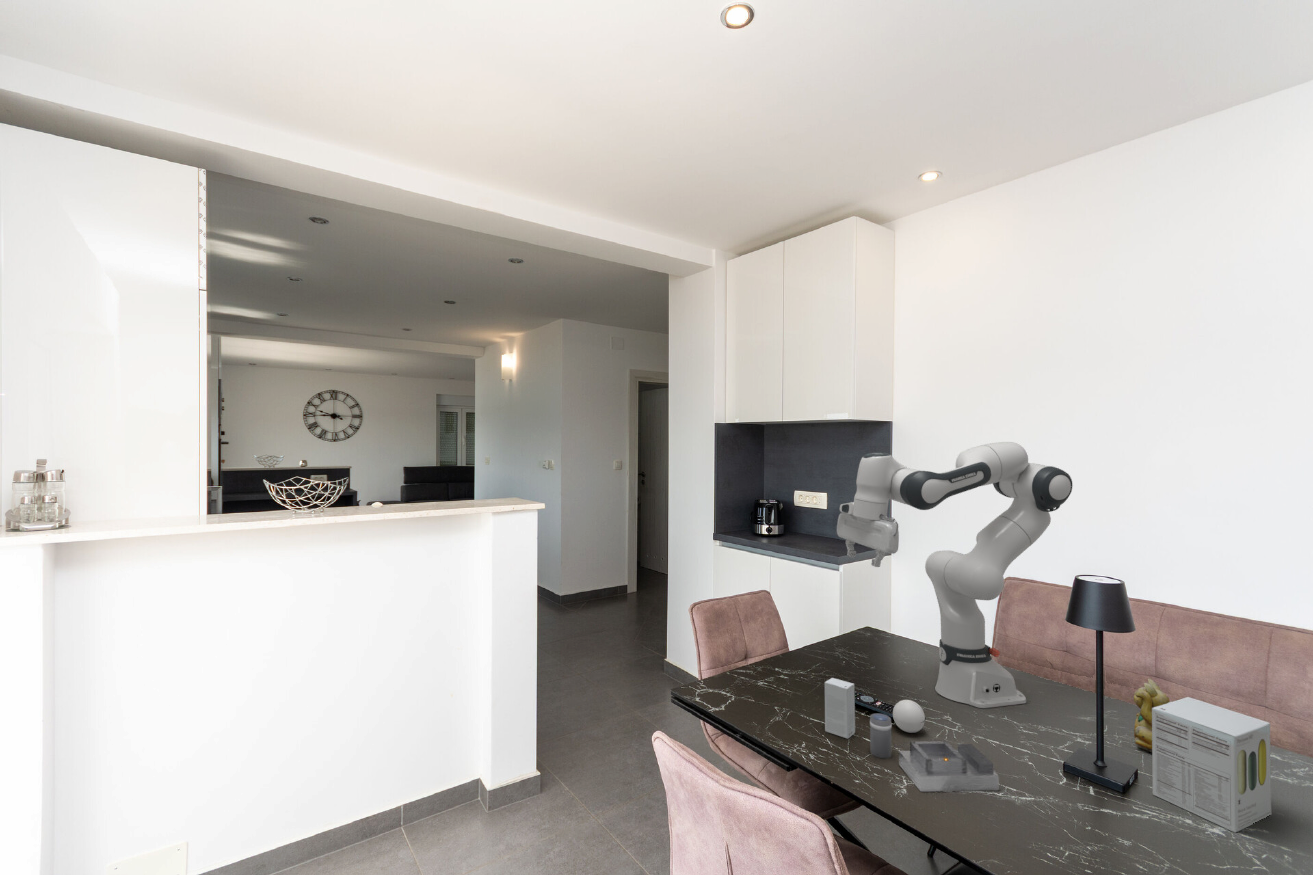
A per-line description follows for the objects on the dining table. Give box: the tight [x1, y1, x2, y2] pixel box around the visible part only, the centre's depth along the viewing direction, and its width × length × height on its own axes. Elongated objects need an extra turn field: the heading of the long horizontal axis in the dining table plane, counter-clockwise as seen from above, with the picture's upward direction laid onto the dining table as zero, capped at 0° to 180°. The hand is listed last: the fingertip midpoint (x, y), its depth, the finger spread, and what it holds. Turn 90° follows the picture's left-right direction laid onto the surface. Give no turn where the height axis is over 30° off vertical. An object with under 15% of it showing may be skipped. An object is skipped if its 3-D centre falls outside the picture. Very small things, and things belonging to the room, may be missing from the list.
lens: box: [869, 712, 892, 759], centre depth 134 cm, size 5×5×8 cm
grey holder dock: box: [898, 740, 1000, 793], centre depth 125 cm, size 16×10×6 cm, turn 91°
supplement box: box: [1151, 696, 1272, 833], centre depth 115 cm, size 13×13×18 cm
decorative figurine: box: [1133, 678, 1171, 753], centre depth 136 cm, size 10×8×15 cm
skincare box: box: [824, 677, 856, 739], centre depth 144 cm, size 6×4×12 cm
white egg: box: [892, 699, 927, 734], centre depth 146 cm, size 10×7×7 cm
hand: (863, 561), depth 162 cm, fingers open, 8 cm apart
